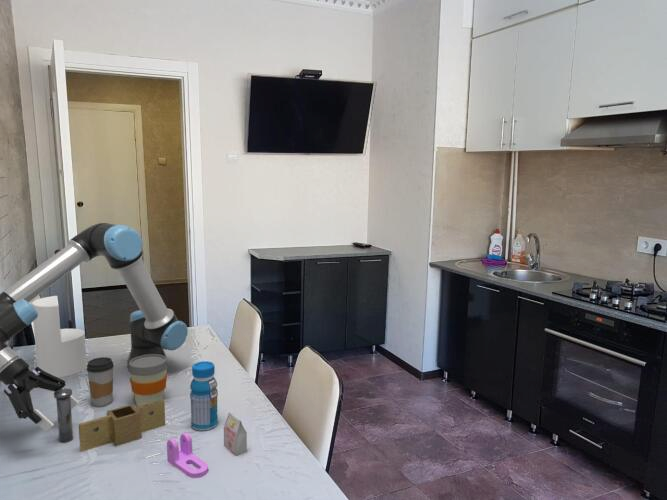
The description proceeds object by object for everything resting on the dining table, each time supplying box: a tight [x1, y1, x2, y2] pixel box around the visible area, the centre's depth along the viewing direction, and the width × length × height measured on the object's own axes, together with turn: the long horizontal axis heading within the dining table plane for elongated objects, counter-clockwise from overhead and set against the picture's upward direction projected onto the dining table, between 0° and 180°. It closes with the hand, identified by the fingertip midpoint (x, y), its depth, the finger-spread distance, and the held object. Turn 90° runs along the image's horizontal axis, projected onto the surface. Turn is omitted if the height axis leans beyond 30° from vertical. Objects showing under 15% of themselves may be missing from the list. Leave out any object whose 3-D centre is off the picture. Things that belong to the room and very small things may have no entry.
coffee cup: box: [86, 356, 115, 408], centre depth 169 cm, size 8×8×15 cm
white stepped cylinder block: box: [31, 295, 88, 378], centre depth 196 cm, size 17×17×28 cm
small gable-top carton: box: [223, 412, 248, 457], centre depth 143 cm, size 4×7×10 cm, turn 40°
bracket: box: [166, 432, 209, 479], centre depth 135 cm, size 13×6×7 cm, turn 49°
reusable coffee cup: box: [128, 354, 168, 407], centre depth 171 cm, size 13×13×15 cm
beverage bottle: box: [189, 360, 219, 431], centre depth 156 cm, size 8×8×20 cm
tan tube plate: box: [78, 399, 166, 452], centre depth 149 cm, size 24×7×8 cm, turn 130°
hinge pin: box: [53, 388, 74, 444], centre depth 146 cm, size 5×5×15 cm
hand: (63, 416), depth 145 cm, fingers open, 13 cm apart
